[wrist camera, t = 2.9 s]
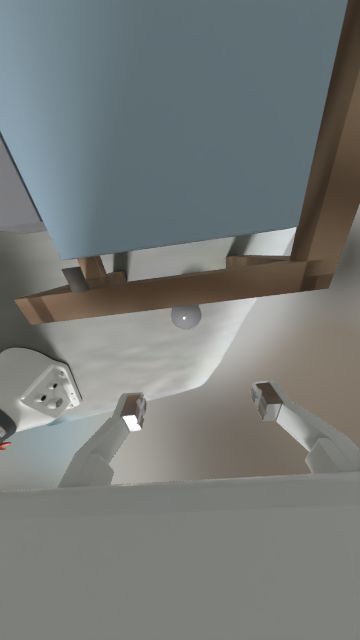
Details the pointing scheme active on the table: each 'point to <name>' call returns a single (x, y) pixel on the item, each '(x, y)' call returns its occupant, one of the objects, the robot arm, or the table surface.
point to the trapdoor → (159, 117)
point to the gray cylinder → (186, 316)
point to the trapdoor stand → (247, 270)
